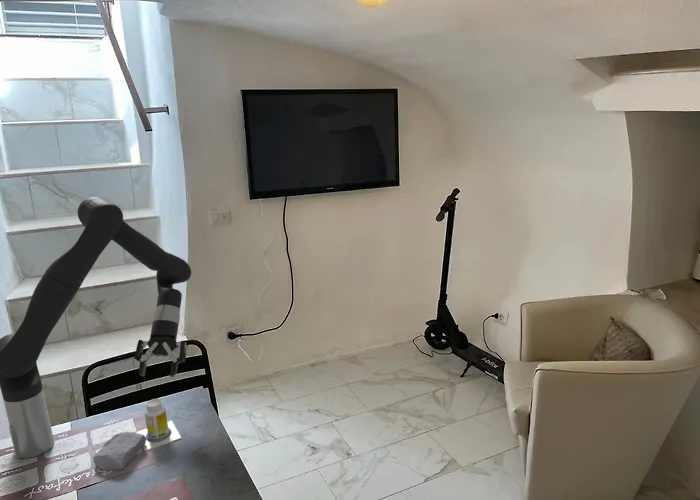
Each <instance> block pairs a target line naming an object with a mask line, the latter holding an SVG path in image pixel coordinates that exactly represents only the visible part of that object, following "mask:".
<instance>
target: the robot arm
mask: <svg viewBox="0 0 700 500" xmlns="http://www.w3.org/2000/svg"><path fill="white" fill-rule="evenodd" d="M77 217H78V221H79V222H80V223H81V225H83V226H84V229H83V230H82V233H81V234H80V236H79V238H78V239H77V240H76V242H75V243H74V244H73V246H72V247H71V248H70V249H68V250H67V251H66V252H64V253H63V254H61V256H59V257H58V258H57V259H55V260H54V261H53V262H52V263H51V264H50V265H49V266H48V268H47V269H46V270H45V272H44V274H43V275H42V277H41V278H40V280H39V282H38V283H37V285H36V287H35V288H34V290H33V292H32V294H31V298H30V301H29V304H28V305H27V306H28V307H27V309H26V312H25V316H23V317H24V318H23V320H22V322H21V324H20V325H19V327H18V328H17V330H16V331H15V333H10V334H6V335H4V336H2V337H1V338H0V391H1V396H2V399H3V403H4V404H3V405H4V407H5V412H6V417H7V421H8V426H9V433H10V437H11V441H12V446H13V449H14V454H15V458H16V460H19V459H29V458H34V457H37V456H41V455H42V454H45V453H47V452H48V451H49V450H50V449H51V448H52V447H53V446H54V444H55V439H54V434H53V429H52V425H51V424H52V423H51V420H50V416H49V412H48V411H49V410H48V408H47V402H46V401H47V400H46V397H45V392H44V386H43V383H42V379H41V375H40V372H39V368H38V364H37V361H38V359H39V357H40V354H41V352H42V350H43V348H44V347H45V345H46V342H47V340H48V338H49V336H50V335H51V333H52V331H53V330H54V328H55V326H56V325H57V323H58V322H59V320H61V318H62V316H63V315H64V313H65V312H66V310H67V308H68V306H69V305H70V304H71V302H72V301H73V299H74V298H75V296H76V294H77V293H78V292H79V290H80V288H81V286H82V285H83V284H84V283H83V282H84V280H85V279H86V278H87V277H88V274H89V273H90V272H91V270H92V268H93V266H94V265H95V264H96V261H97V260H98V259H99V257H100V256H101V254H102V253H103V251H104V250H105V249H106V247H108V245H109V243H110V242H111V241H113V242H114V243H116V244H117V245H118V246H119V247H121V248H122V249H123V250H124V251H126V252H127V253H128V254H129V255H131V256H132V257H133V258H134V259H135V260H137V261H138V262H139V263H141V264H142V265H144V266H145V267H146V268H148V269H149V270H150V271H154V272H156V275H155V276H156V277H155V278H156V284H157V287H156V288H157V293H158V295H157V301H156V307H155V310H154V314H153V318H152V325H151V331H150V336H149V339H148V341H147V340H142V339H139V340H138V341H137V345H136V349H135V353H134V356H133V357H134V358H133V359H134V360H136V362H139V366H138V367H139V368H138V374H139V375H140V377H145V376H146V370H147V365H148V364H147V363H148V362H149V360H151V359H153V357H154V356H155V357H168V356H169V357H170V359H171V361H172V362H171V367H170V370H169V371H170V373H169V376H170V377H171V378H174V377H175V376H176V375H177V373H178V367H179V364H181V363H185V362H186V360H187V359H186V356H187V343H186V341H185V340H181V341H177V337H178V331H179V325H180V322H181V321H180V318H181V317H180V316H181V307H182V306H181V305H182V299H183V298H182V297H183V294H182V292H181V291H180V290H179V289H176V288H174V287H173V286H174V285H176V284H182V283H185V282H188V281H189V280H190V279H191V276H192V269H191V266H190V265H189V264H188V262H187V261H186V260H184V259H183V258H181V257H179V256H176V255H174V254H172V253H171V252H167V251H165V250H164V249H163V248H162V247H160V245H158V244H157V243H155V242H154V241H153V240H151V239H150V238H149V237H148V236H146V235H144V234H142V233H141V232H140V231H139V230H136V229H135V228H133V227H132V226H130V224H128V223H127V222H126V221H125V220H124V214H123V211H122V209H121V208H120V207H119V206H118V205H116V204H115V203H112V202H111V201H109V200H107V199H105V198H102V197H97V196H92V197H87V198H86V199H84V200H83V201H81V202H80V204H79V205H78V208H77ZM146 347H148V349H147V350H146V351H145V353H144V352H143V351H144V350H145V349H146ZM176 347H178V349H179V357H177V355H176V354H175V352H174V350H175V349H176ZM143 353H144V354H143Z"/></svg>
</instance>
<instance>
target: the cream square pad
mask: <svg viewBox="0 0 700 500" xmlns="http://www.w3.org/2000/svg"><path fill="white" fill-rule="evenodd" d="M167 423H168V433H167V434H166V435H165V436H164V437H162V438H159V439H152V438H150V437H149V436H148V432H147V428H144V429H142V430H138V431H136V433H139V434H143V435H145V437H146V443H145V445H144V446H143V448H142V449H143V450H144V452H147V451H149V450H153V449H155V448H158V447H161V446H165V445H167V444H170V443H173V442H175V441H178V440H180V439H182V436H181V435H180V432H179V431H178V429H177V428H176V425H175V424H174V422H173V420H169V421H168V420H167Z"/></svg>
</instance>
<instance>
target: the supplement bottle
mask: <svg viewBox="0 0 700 500" xmlns="http://www.w3.org/2000/svg"><path fill="white" fill-rule="evenodd" d="M145 405H146V408H145V410H144V418H145V425H146V429H147V432H148V436H149V437H150V438H152V439H159V438H162V437H164V436H165V435H166V434H167V433H168V423H167V422H168V418H167V412H166V407H165V405H163V403H162V400H161V399H160V398H152V399H150V400H148V401H147V402H146V404H145Z"/></svg>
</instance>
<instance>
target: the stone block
mask: <svg viewBox="0 0 700 500" xmlns="http://www.w3.org/2000/svg"><path fill="white" fill-rule="evenodd" d="M145 443H146V437H145V435H143V434H139V433H137V432H131V431H124V432H120V433H117V434H114V435H113V436H112V437H111V438H110V439H109V440H107V441H106V442H105V443H104V444H103V446H102V447H101V448H99V450H98V451H97V452H96V453H95V454H94V455H93V459H92V460H93V463H94V466H95V467H96V468H98V469H101V470H105V471H106V470H111V471H112V470H114V471H115V470H116V471H117V470H118V471H123V470H124V469H125V468H126V467H127V466H128V465H129V463H130V462H131V461H133V459H134V458H135V457H136V456H137V455H138V453H139V452H140V451H141V450H142V449H143V446H144V445H145Z"/></svg>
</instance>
